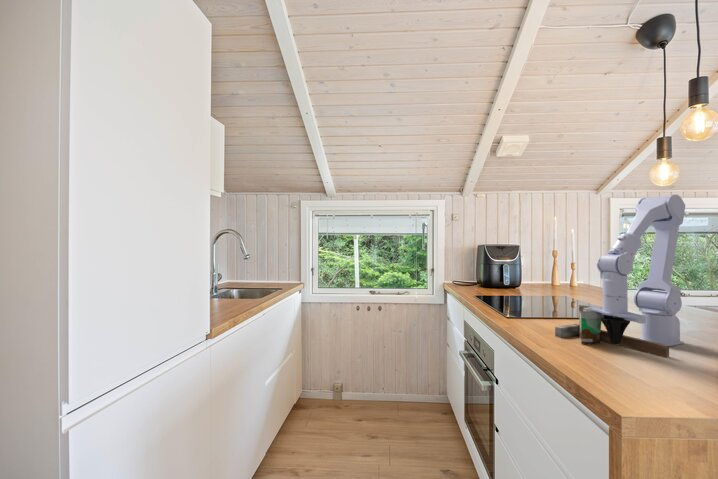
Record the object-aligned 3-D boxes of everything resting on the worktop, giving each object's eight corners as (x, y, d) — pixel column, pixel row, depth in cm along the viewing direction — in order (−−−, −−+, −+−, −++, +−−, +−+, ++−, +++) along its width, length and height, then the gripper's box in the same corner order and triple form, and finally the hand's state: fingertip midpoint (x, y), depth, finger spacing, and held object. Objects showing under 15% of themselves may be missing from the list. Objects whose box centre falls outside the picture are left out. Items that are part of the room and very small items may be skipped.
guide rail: (575, 332, 115) (575, 323, 115) (669, 356, 91) (669, 345, 91) (555, 336, 112) (555, 326, 112) (646, 361, 87) (646, 350, 87)
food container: (607, 348, 99) (606, 313, 99) (581, 345, 102) (581, 311, 102) (602, 337, 109) (601, 306, 109) (579, 335, 112) (578, 304, 112)
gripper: (580, 293, 104) (581, 338, 104) (633, 300, 90) (634, 352, 90) (597, 291, 107) (597, 335, 106) (650, 298, 93) (651, 349, 93)
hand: (615, 343), depth 99 cm, fingers closed
